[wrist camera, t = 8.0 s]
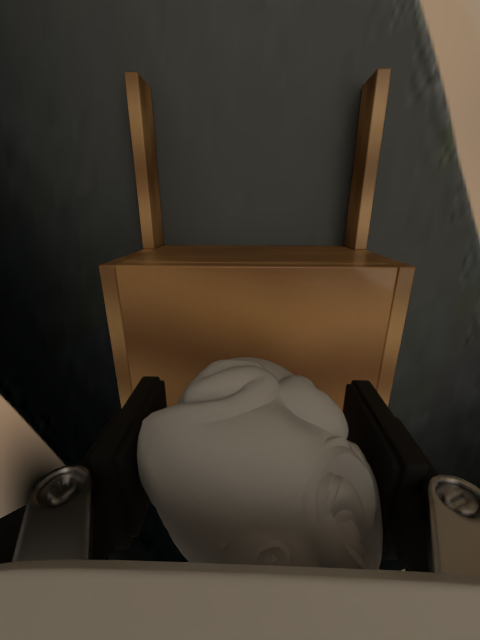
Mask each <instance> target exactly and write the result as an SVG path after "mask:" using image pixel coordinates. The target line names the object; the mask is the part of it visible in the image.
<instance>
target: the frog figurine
mask: <svg viewBox="0 0 480 640" xmlns="http://www.w3.org/2000/svg"><path fill="white" fill-rule="evenodd" d="M348 432H349V430H348V424H347V422H346V419H345V416H344V414H343V412H342V411H341V409H340V407H339V406H338V405H337V404H336V403H335V402H334V401H333V400H332V399H331V398H330V397H329V396H328V395H327V394H326V393H324V392H323V391H321V390H319V389H317V388H316V387H315V386H314V384H313V383H312V381H310V380H309V379H308V378H306V377H303V376H300V375H293V374H292V373H291V372H289V371H288V370H287V369H285V368H283V367H282V366H280V365H278V364H276V363H273V362H271V361H268V360H264V359H259V358H253V357H239V358H232V359H228V360H218V361H215V362H213V363H211V364H210V365H208V366H207V367H206V368H205V369H203V370H202V371H201V372H200V373H199V374H198V375H197V376H196V377H195V378H194V379H193V380H192V381H191V382H190V383H189V385H188V386H187V387H186V389H185V390H184V391H183V393H182V395H181V396H180V398H179V400H178V402H177V404H176V405H172V406H169V407H167V408H164V409H161V410H158V411H156V412H153V413H151V414H150V415H149V416H147V417H146V418H145V419H144V420H143V421H142V426H141V429H140V433H139V436H138V443H137V464H138V472H139V476H140V481H141V484H142V486H143V488H144V489H145V491H146V493H147V495H148V497H149V499H150V500H151V502H152V504H153V505H154V506H155V507H156V509H157V512H158V514H159V516H160V518H161V519H162V521H163V524H164V526H165V527H166V529H167V530H168V531H169V534H170V537H171V538H172V539H173V542H174V543H175V545H176V546H177V547H178V549H179V551H180V552H181V553H182V554H183V556H184V557H185V558H186V559H187V560H188V562H189V563H218V564H245V565H272V566H298V567H323V568H346V569H369V570H378V569H379V564H380V560H381V556H382V542H383V528H382V516H381V515H382V513H381V503H380V495H379V490H378V486H377V482H376V478H375V476H374V474H373V472H372V470H371V467H370V465H369V463H368V462H367V460H366V458H365V456H364V454H363V453H362V451H361V450H360V448H359V447H358V445H357V444H355V443H352V442H350V441H348V440H347V437H348Z"/></svg>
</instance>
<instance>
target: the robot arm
mask: <svg viewBox="0 0 480 640" xmlns="http://www.w3.org/2000/svg"><path fill="white" fill-rule="evenodd" d="M164 408H167V401H166V391H165V382H164V381H163V380H160V378H159V377H156V376H143V377H142V378H141V380H140V381H139V383H138V385H137V386H136V388H135V389H134V391H133V392H132V394H131V395H130V397H129V398H128V400H127V401H126V403H125V404H124V406H123V408H122V409H121V411H117V412H115V413H114V414H113V416H112V417H111V419H110V420H109V421H108V423H107V424H106V426H105V427H104V429H103V430H102V432H101V433H100V435H99V436H98V438H97V439H96V441H95V442H94V444H93V445H92V447H91V448H90V450H89V451H88V453H87V454H86V456H85V457H84V459H83V460H82V462H81V463H80V464H79V465H69V466H63V467H61V468H58V469H55V470H54V471H52V472H50V473H48V474H47V475H45V476H44V477H43V478H41V479H40V480H39V481H38V482H37V483H36V484H35V486H34V487H33V488H32V490H31V493H30V495H29V498H28V502H27V505H25V506H23V507H21V508H19V509H17V510H16V511H14V512H12V513H10V514H8V515H6V516H4V517H2V518H0V640H480V489H478V488H477V487H476V486H474V485H472V484H471V483H469V482H467V481H465V480H462V479H460V478H457V477H453V476H449V475H439V474H438V473H437V471H436V470H435V469H434V467H433V466H432V464H431V463H430V462H429V460H428V459H427V457H426V456H425V455H424V453H423V452H422V450H421V449H420V448H419V446H418V445H417V443H416V442H415V441H414V439H413V438H412V436H411V435H410V433H409V432H408V431H407V429H406V428H405V426H404V425H403V424H402V422H401V421H400V420H399V419H398V418H396V417H394V415H393V414H392V412H391V411H390V409H389V408H388V407H387V405H386V404H385V402H384V401H383V399H382V398H381V396H380V395H379V394H378V392H377V391H376V389H375V388H374V386H373V385H372V384H371V382H370V381H369V380H353V381H352V382H351V384H347V385H346V390H345V397H344V404H343V414H344V416H345V419H346V422H347V424H348V430H349V432H348V437H347V440H348V441H350V442H352V443H355V444H357V445H358V447H359V448H360V450H361V451H362V453H363V454H364V456H365V458H366V460H367V462H368V463H369V465H370V467H371V470H372V472H373V474H374V476H375V478H376V482H377V486H378V490H379V495H380V503H381V513H382V515H381V516H382V528H383V542H382V555H383V558H384V559H398V561H399V562H400V563H402V564H403V565H404V566H405V571H391V570H369V569H346V568H323V567H298V566H272V565H245V564H218V563H188V562H156V561H123V560H108V556H109V555H111V554H112V553H113V552H115V551H116V549H125V550H127V549H129V546H130V543H131V540H132V538H133V537H137V536H138V535H139V533H140V530H141V528H142V525H143V522H144V519H145V516H146V513H147V510H148V507H149V504H150V501H151V500H150V499H149V497H148V495H147V493H146V491H145V489H144V488H143V486H142V484H141V481H140V476H139V472H138V464H137V443H138V436H139V433H140V429H141V426H142V421H143V420H144V419H145V418H146V417H147V416H149V415H150V414H151V413H153V412H156V411H158V410H161V409H164Z"/></svg>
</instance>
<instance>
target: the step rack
mask: <svg viewBox="0 0 480 640" xmlns="http://www.w3.org/2000/svg"><path fill="white" fill-rule="evenodd" d="M390 76H391V69H390V68H386V69H377V70H376V71H375V72H374V74H373V75H372V76H371V77H370V78H369V79H368V80H367V81H366V82H365V84H364V85H363V86H362V95H361V103H360V112H359V121H358V129H357V138H356V147H355V155H354V164H353V173H352V181H351V190H350V199H349V207H348V216H347V225H346V233H345V242H344V246H230V245H164V241H163V229H162V218H161V206H160V194H159V182H158V170H157V158H156V146H155V134H154V122H153V110H152V98H151V89H150V87H149V86H148V85H147V83H146V82H145V81H144V80H143V79H142V77H141V76H140V75H139V74H138V73H137V72H125V83H126V93H127V102H128V111H129V121H130V130H131V139H132V149H133V158H134V167H135V177H136V186H137V195H138V205H139V214H140V223H141V233H142V242H143V248H144V249H143V250H140V251H137V252H135V253H132V254H129V255H126V256H124V257H121V258H118V259H115V260H113V261H110V262H107V263H104V264H102V265H99V270H100V276H101V283H102V289H103V295H104V302H105V308H106V314H107V320H108V327H109V333H110V339H111V345H112V352H113V358H114V364H115V371H116V377H117V383H118V389H119V396H120V402H121V408H123V406H124V404H125V403H126V401H127V400H128V398H129V397H130V395H131V394H132V392H133V391H134V389H135V388H136V386H137V385H138V383H139V381H140V380H141V378H142V377H143V376H156V377H159V378H160V380H163V381H164V382H165V391H166V401H167V407H169V406H172V405H176V404H177V402H178V400H179V398H180V396H181V395H182V393H183V391H184V390H185V389H186V387H187V386H188V385H189V383H190V382H191V381H192V380H193V379H194V378H195V377H196V376H197V375H198V374H199V373H200V372H201V371H202V370H203V369H205V368H206V367H207V366H208V365H210V364H211V363H213V362H215V361H218V360H228V359H232V358H239V357H253V358H259V359H264V360H268V361H271V362H273V363H276V364H278V365H280V366H282V367H283V368H285V369H287V370H288V371H289V372H291V373H292V374H293V375H300V376H303V377H306V378H308V379H309V380H310V381H312V383H313V384H314V386H315V387H316V388H317V389H319V390H321V391H323V392H324V393H326V394H327V395H328V396H329V397H330V398H331V399H332V400H333V401H334V402H335V403H336V404H337V405H338V406H339V407H340V409H341V411H342V412H343V404H344V397H345V390H346V385H347V384H351V382H352V381H353V380H369V381H370V382H371V384H372V385H373V386H374V388H375V389H376V391H377V392H378V394H379V395H380V396H381V398H382V399H383V401H384V402H385V404H386V405H387V407H388V403H389V398H390V393H391V388H392V383H393V378H394V373H395V368H396V363H397V358H398V353H399V348H400V343H401V338H402V333H403V328H404V323H405V318H406V312H407V307H408V302H409V297H410V292H411V287H412V282H413V277H414V272H415V267H413V266H410V265H407V264H404V263H401V262H398V261H395V260H393V259H390V258H387V257H384V256H381V255H378V254H375V253H372V252H370V251H367V250H366V247H367V239H368V232H369V225H370V218H371V211H372V204H373V197H374V190H375V182H376V175H377V168H378V161H379V154H380V147H381V140H382V133H383V125H384V118H385V111H386V104H387V97H388V90H389V83H390ZM163 245H164V246H163Z"/></svg>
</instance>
